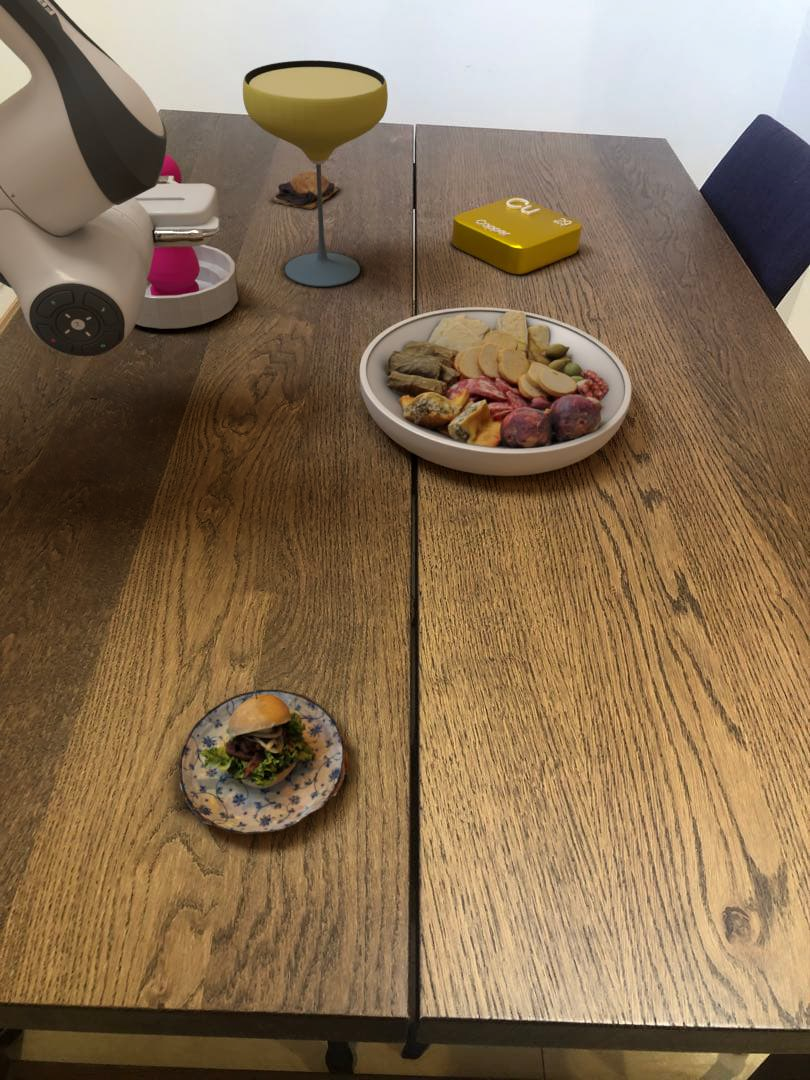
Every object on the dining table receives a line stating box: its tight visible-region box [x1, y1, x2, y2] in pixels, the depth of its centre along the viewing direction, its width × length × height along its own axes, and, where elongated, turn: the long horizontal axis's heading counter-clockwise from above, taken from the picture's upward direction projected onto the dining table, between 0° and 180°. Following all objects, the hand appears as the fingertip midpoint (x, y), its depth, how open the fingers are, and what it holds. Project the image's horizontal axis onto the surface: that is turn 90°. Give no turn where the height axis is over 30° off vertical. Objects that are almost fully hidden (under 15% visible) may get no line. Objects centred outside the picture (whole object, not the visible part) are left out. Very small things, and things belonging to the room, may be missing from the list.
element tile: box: [451, 195, 583, 276], centre depth 125 cm, size 15×15×5 cm
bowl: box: [359, 306, 633, 477], centre depth 91 cm, size 30×30×8 cm
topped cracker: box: [272, 170, 339, 210], centre depth 138 cm, size 11×8×4 cm
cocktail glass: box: [242, 59, 389, 288], centre depth 110 cm, size 18×18×25 cm
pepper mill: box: [147, 153, 200, 296], centre depth 102 cm, size 7×7×20 cm
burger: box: [178, 676, 349, 835], centre depth 57 cm, size 12×12×8 cm
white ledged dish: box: [135, 244, 239, 330], centre depth 108 cm, size 16×16×5 cm
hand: (121, 183), depth 85 cm, fingers open, 8 cm apart
